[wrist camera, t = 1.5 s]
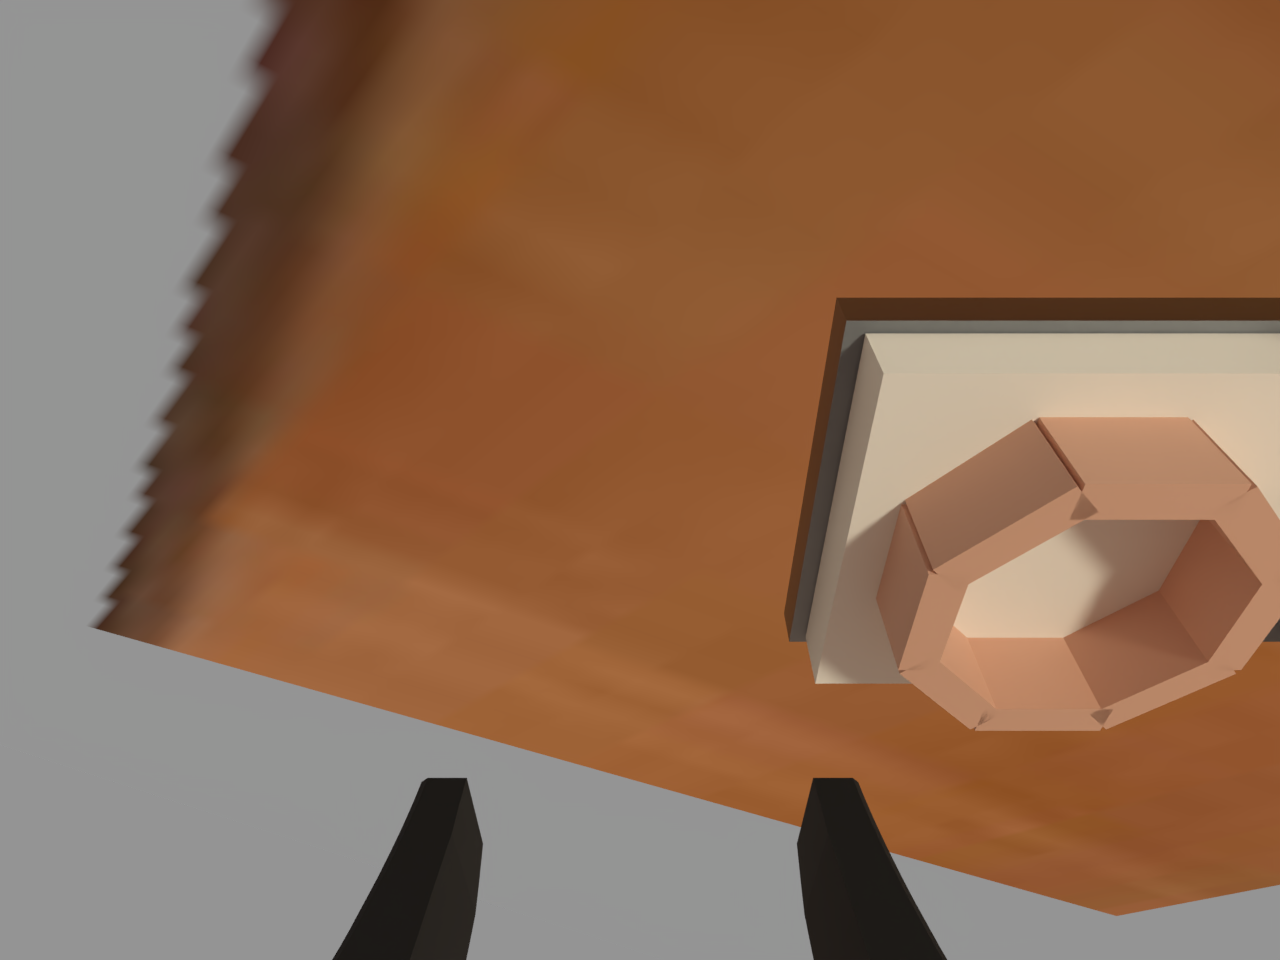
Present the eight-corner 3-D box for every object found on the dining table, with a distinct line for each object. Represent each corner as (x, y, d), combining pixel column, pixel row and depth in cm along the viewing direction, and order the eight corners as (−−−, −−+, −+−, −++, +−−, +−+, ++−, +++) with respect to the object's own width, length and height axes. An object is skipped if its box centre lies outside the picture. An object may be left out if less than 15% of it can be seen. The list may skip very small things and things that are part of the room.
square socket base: (865, 333, 16) (913, 438, 13) (1326, 333, 16) (1473, 438, 13) (805, 637, 21) (830, 755, 18) (1144, 637, 21) (1219, 755, 18)
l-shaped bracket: (836, 297, 16) (916, 482, 12) (1672, 298, 16) (2090, 482, 12) (784, 613, 22) (822, 820, 17) (1395, 613, 22) (1597, 820, 18)
